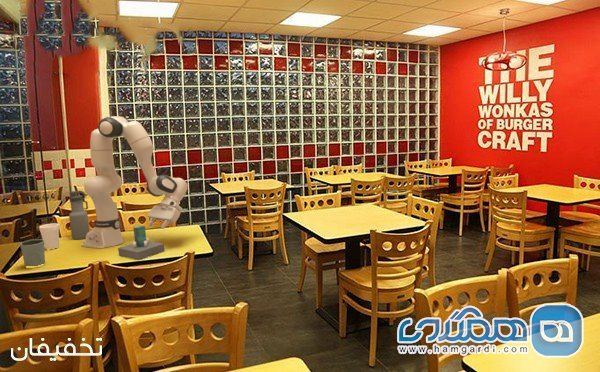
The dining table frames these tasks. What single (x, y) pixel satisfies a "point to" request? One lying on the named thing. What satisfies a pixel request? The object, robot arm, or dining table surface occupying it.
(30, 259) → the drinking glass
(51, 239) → the foam cup
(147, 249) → the peg stand
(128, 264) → the dining table surface
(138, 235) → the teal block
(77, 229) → the water bottle
